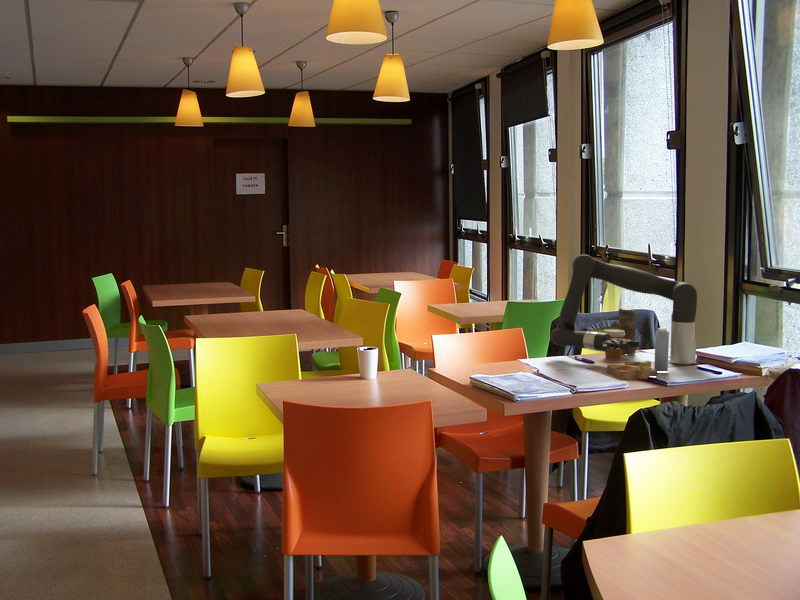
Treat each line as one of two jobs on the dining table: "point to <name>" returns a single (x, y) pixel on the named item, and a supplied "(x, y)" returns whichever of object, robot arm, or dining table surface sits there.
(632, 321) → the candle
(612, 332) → the disposable coffee cup
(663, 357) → the flask
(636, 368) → the display stand
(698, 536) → the dining table surface
